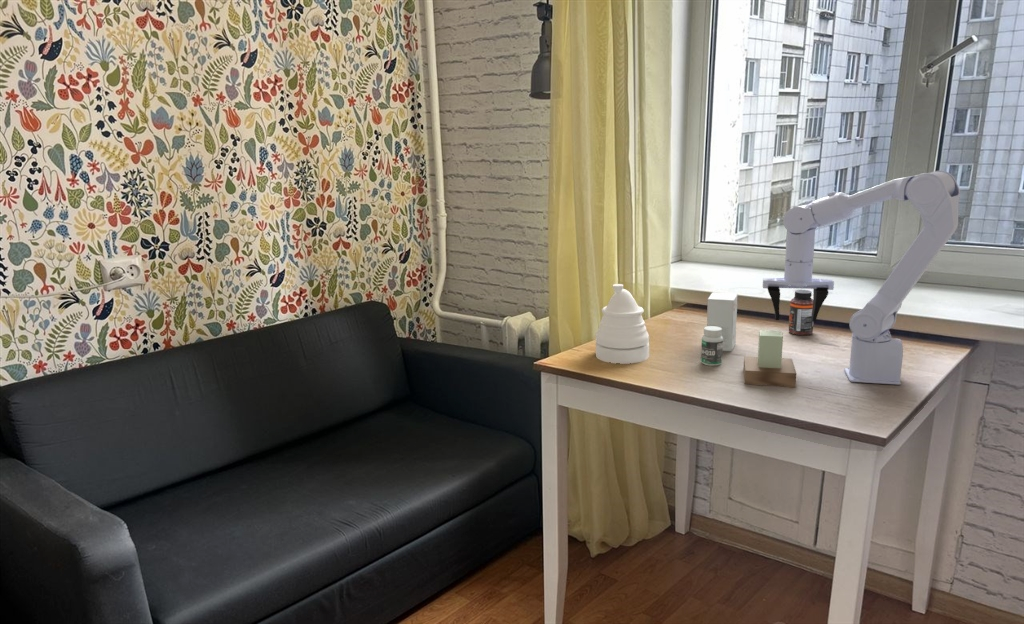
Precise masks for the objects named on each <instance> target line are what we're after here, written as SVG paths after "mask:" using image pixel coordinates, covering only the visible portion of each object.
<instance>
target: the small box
mask: <svg viewBox="0 0 1024 624" xmlns="http://www.w3.org/2000/svg"><path fill="white" fill-rule="evenodd" d="M706 302H707V309H706V312H707V313H706V327H707V326H716V327H720V328H722V335H721V336H722V337H723V351H722V352H733V351H734V348H735V345H736V343H737V341H736V340H737V316H738V313H737V312H738V293H736V292H735V293H734V292H720V291H719V292H715V291H714V292H713V291H712V292H711V293H710V295H709V296H708V298H707V301H706Z"/></svg>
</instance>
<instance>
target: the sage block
mask: <svg viewBox="0 0 1024 624" xmlns="http://www.w3.org/2000/svg"><path fill="white" fill-rule="evenodd" d="M758 332H759V333H758V348H757V349H758V350H757V351H758V352H757V357H758V367H764V368H781V362H782V358H783V356H782V355H783V345H784V343H783V342H784V335H783V331H782V330H769V329H767V330H765V329H759V331H758Z"/></svg>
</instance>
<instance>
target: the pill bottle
mask: <svg viewBox="0 0 1024 624" xmlns="http://www.w3.org/2000/svg"><path fill="white" fill-rule="evenodd" d="M721 335H722V328H720V327H716V326H707V325H706V326H705V327H703V335H702V336H701V346H700V347H701V348H700V350H701V351H700V355H701V356H700V362H701V364H702V365H706V366H709V367H713V366H720V365H722V363H723V352H724V351H723V337H722V336H721Z"/></svg>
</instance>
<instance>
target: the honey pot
mask: <svg viewBox="0 0 1024 624" xmlns="http://www.w3.org/2000/svg"><path fill="white" fill-rule="evenodd" d="M612 290H613V291H614V293H613V294H612V296H611V297H610V299H609V301H608V302H607V305H605V306H603V308H601V313H602V318H601V320H600V321H599V326H598V330H597V332H596V333H595V356H596V358H597V359H598V360H600V361H601V362H606V363H609V362H611V364H616V363H620V365H622V364H623V365H626V364H627V365H628V364H630V363H631V364H637V363H642V362H645V361H646V360H648V359H649V357H650V343H649V342H650V340H649V339H650V335H649V332H648V331H647V326H646V325H645V324H646V322H645V320H644V318H643V316H642V314H643V313H644V311H645V309H644V308H643V307H642V306H639V305H638V303H637V301H636V299H635V298H634V296H633V295H632V293H631V292H630V291H629V290H628V289H625V288H624V284H622V283H614V284H612Z"/></svg>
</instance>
